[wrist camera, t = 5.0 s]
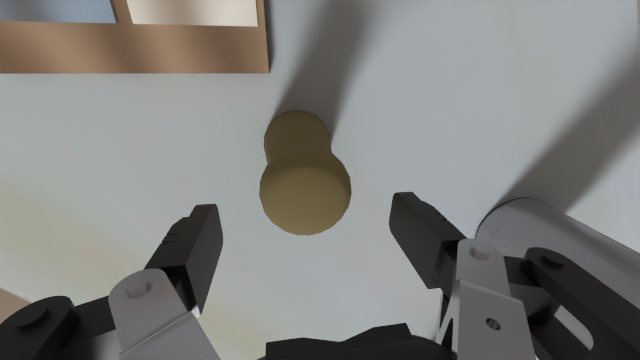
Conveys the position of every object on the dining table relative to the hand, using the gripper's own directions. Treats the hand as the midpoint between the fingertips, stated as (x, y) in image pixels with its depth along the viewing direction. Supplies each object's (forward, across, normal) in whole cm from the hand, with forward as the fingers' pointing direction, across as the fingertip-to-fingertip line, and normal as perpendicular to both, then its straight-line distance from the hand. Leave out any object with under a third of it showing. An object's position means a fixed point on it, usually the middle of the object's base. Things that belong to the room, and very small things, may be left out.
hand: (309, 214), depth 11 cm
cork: (+12, 0, 0) cm, 13 cm away
